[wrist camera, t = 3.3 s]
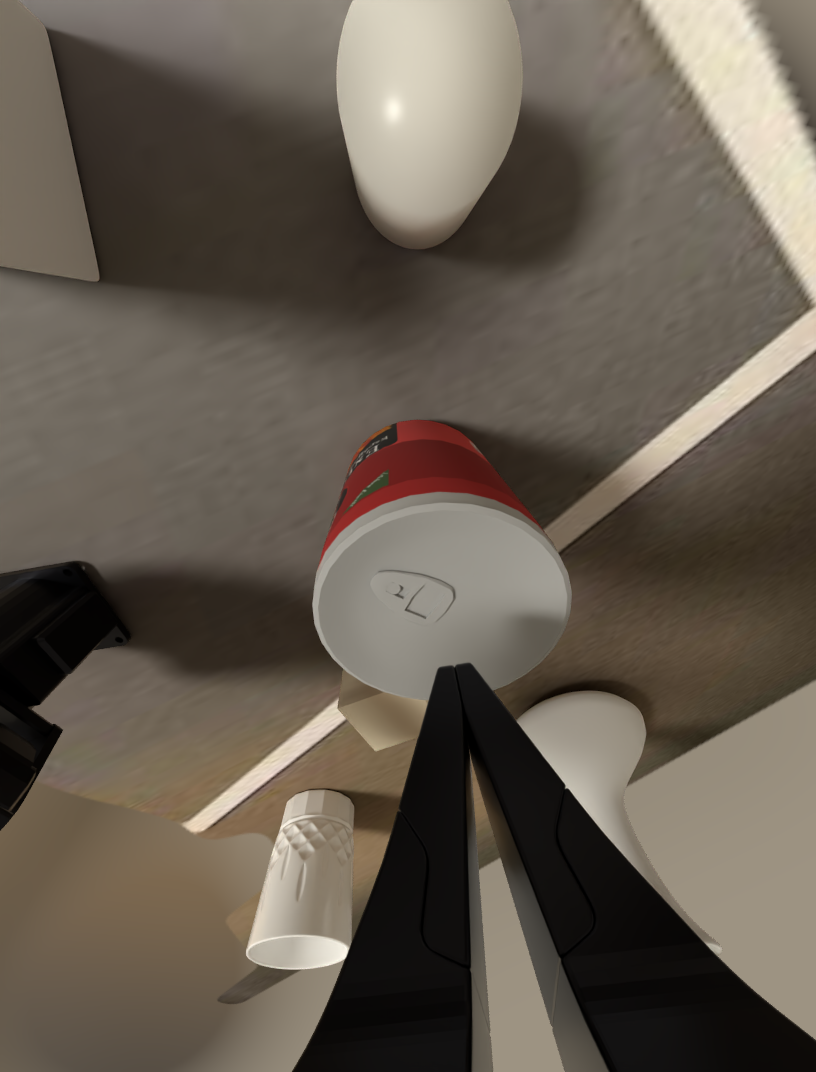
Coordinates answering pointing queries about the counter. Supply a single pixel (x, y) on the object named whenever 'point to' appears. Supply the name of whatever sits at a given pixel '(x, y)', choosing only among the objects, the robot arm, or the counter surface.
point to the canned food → (435, 567)
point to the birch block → (380, 713)
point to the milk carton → (37, 158)
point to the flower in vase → (600, 768)
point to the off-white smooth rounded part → (427, 109)
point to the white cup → (307, 886)
